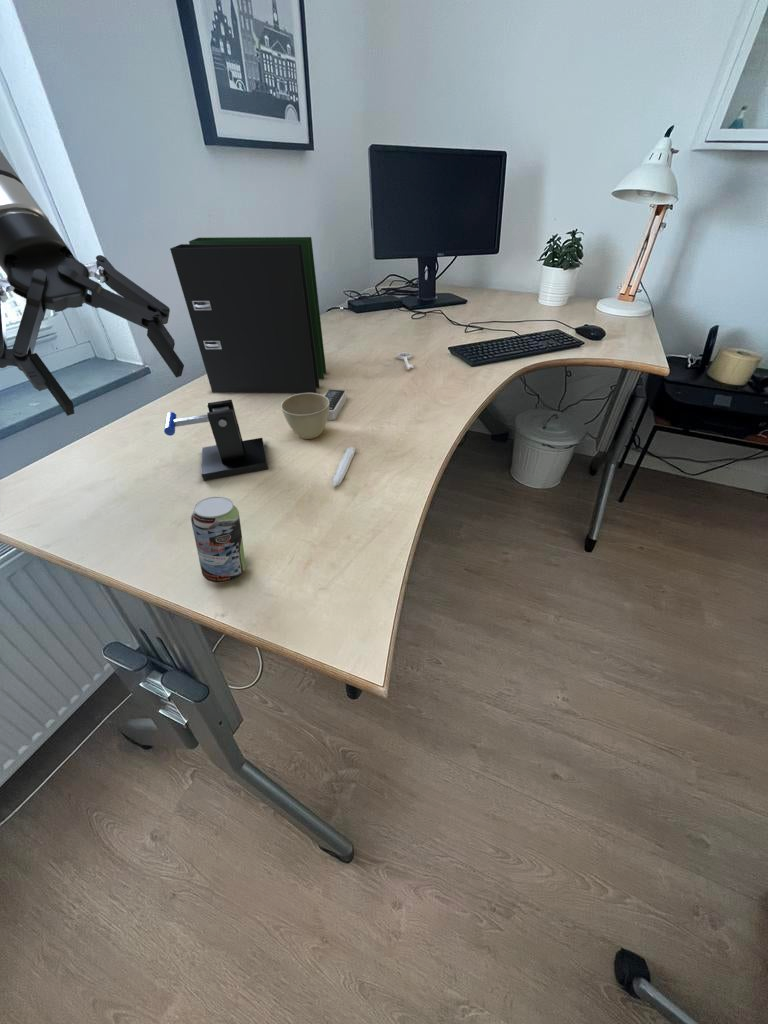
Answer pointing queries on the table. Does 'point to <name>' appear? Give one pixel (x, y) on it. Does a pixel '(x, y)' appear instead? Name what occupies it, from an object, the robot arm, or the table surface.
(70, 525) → the table surface
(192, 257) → the binder
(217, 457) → the bracket
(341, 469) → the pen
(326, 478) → the table surface
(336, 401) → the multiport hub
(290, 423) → the flower pot
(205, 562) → the beverage can
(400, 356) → the key
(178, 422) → the lever
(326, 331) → the table surface
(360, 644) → the table surface
